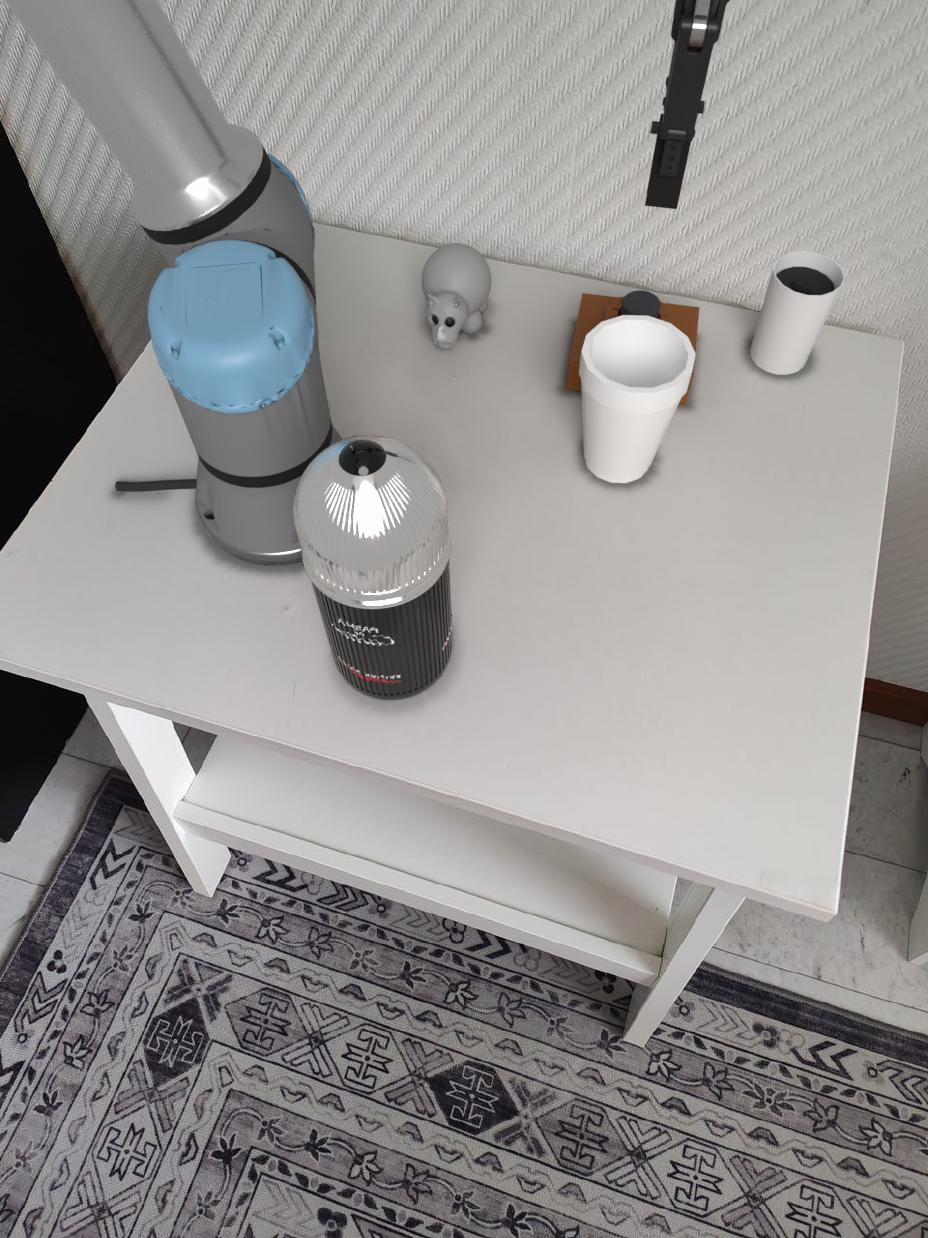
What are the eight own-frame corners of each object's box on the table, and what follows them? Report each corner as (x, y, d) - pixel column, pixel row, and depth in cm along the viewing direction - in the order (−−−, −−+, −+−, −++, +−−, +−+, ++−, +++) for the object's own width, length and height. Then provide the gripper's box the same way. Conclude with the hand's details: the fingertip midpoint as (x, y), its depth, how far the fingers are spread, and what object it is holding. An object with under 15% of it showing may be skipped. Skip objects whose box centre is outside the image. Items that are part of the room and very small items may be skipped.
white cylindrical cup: (809, 382, 90) (844, 301, 81) (743, 372, 91) (771, 290, 82) (811, 338, 93) (845, 255, 85) (747, 328, 94) (774, 246, 86)
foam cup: (657, 505, 82) (685, 402, 71) (559, 485, 83) (572, 381, 72) (672, 431, 87) (701, 324, 75) (579, 413, 88) (594, 306, 77)
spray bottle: (440, 718, 71) (425, 530, 49) (317, 696, 72) (251, 502, 51) (466, 611, 76) (462, 399, 55) (351, 592, 77) (303, 376, 56)
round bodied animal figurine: (404, 367, 92) (398, 299, 84) (433, 292, 98) (429, 223, 90) (472, 378, 91) (472, 310, 83) (496, 302, 97) (498, 232, 89)
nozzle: (618, 329, 86) (621, 312, 84) (621, 305, 88) (624, 287, 86) (655, 334, 86) (659, 317, 84) (658, 309, 88) (662, 292, 86)
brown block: (565, 389, 90) (571, 343, 85) (578, 323, 95) (584, 276, 90) (685, 405, 88) (697, 359, 83) (691, 337, 93) (703, 290, 88)
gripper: (789, -96, 52) (701, 255, 72) (790, -186, 59) (710, 156, 79) (660, -105, 53) (609, 244, 73) (677, -193, 60) (626, 148, 80)
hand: (661, 198), depth 76 cm, fingers closed
